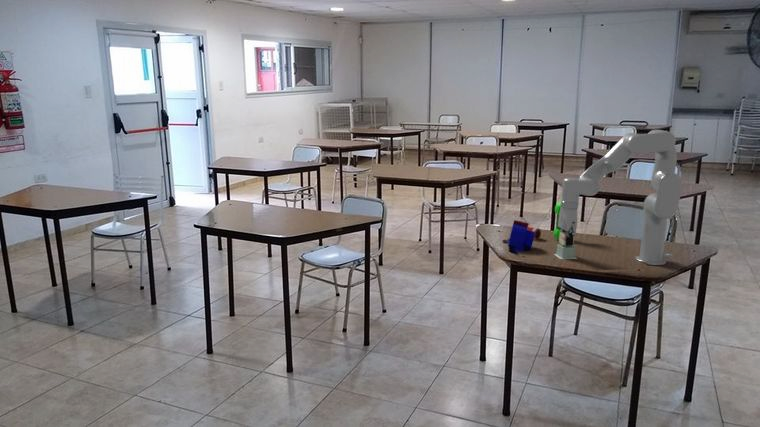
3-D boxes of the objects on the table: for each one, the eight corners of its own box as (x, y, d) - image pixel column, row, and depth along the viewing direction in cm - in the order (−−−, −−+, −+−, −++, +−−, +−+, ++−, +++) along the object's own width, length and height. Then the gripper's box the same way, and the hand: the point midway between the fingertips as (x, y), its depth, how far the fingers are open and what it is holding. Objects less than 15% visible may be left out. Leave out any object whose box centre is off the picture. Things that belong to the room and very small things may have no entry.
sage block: (568, 254, 266) (569, 244, 265) (574, 258, 260) (575, 247, 259) (556, 254, 265) (557, 244, 264) (562, 258, 260) (562, 247, 258)
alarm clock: (508, 246, 284) (509, 217, 281) (533, 248, 281) (535, 218, 278) (507, 252, 272) (508, 222, 269) (533, 254, 269) (535, 224, 266)
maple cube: (569, 242, 264) (569, 231, 263) (574, 245, 259) (574, 234, 258) (558, 242, 264) (559, 232, 263) (563, 245, 259) (564, 234, 258)
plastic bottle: (575, 243, 290) (579, 195, 285) (554, 242, 291) (558, 194, 286) (570, 238, 300) (574, 191, 295) (550, 237, 301) (553, 191, 296)
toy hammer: (512, 246, 285) (513, 233, 284) (495, 241, 294) (495, 229, 293) (541, 239, 299) (542, 227, 297) (523, 234, 308) (524, 223, 307)
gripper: (553, 201, 265) (551, 239, 269) (570, 209, 249) (566, 249, 253) (569, 201, 266) (566, 238, 270) (586, 208, 250) (582, 248, 254)
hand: (566, 243), depth 261 cm, fingers closed on maple cube, 4 cm apart
